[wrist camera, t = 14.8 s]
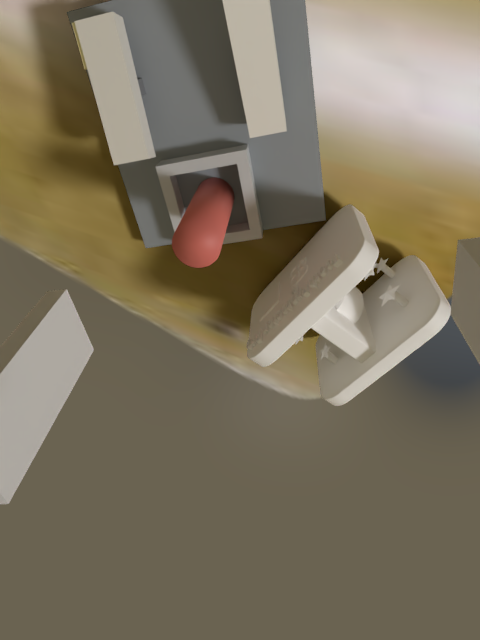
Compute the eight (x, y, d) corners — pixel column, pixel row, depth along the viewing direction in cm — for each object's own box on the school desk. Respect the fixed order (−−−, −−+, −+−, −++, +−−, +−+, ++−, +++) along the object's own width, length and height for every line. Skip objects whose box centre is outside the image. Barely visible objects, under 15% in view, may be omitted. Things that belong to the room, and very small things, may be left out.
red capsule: (191, 181, 41) (165, 226, 32) (230, 174, 40) (214, 217, 31) (201, 218, 43) (179, 270, 34) (237, 212, 42) (225, 264, 33)
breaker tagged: (82, 27, 34) (70, 22, 32) (122, 17, 33) (112, 11, 32) (119, 163, 38) (110, 166, 36) (155, 156, 37) (148, 158, 35)
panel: (74, 12, 36) (55, 11, 33) (299, -46, 32) (301, -53, 30) (149, 242, 46) (140, 256, 43) (324, 214, 43) (327, 228, 40)
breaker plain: (222, -17, 30) (220, -9, 29) (265, -28, 30) (266, -21, 28) (250, 126, 37) (249, 138, 36) (285, 119, 37) (286, 131, 35)
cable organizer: (319, 346, 52) (328, 420, 42) (247, 297, 49) (239, 364, 39) (421, 255, 45) (459, 319, 35) (344, 191, 42) (363, 241, 32)
